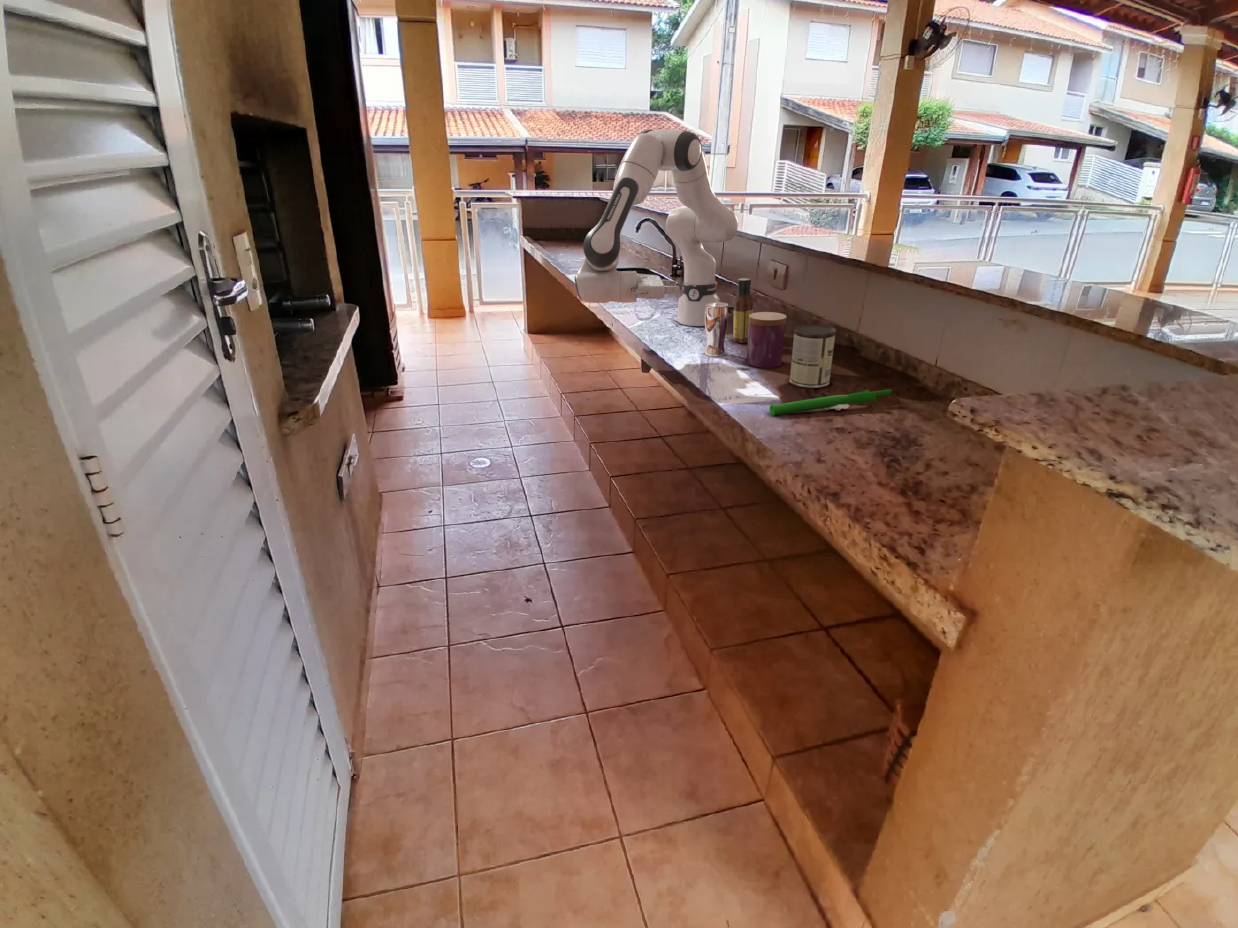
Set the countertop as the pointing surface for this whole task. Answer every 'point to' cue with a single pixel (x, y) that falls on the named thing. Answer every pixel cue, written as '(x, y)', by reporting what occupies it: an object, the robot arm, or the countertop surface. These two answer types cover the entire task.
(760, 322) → the jar
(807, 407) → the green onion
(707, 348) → the metal cocktail shaker
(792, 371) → the coffee can
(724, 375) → the countertop surface
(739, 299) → the sauce bottle
